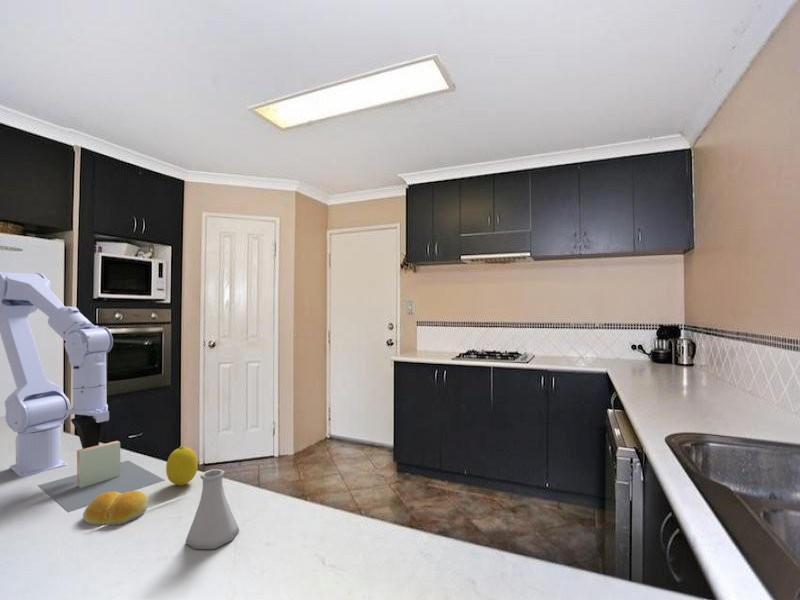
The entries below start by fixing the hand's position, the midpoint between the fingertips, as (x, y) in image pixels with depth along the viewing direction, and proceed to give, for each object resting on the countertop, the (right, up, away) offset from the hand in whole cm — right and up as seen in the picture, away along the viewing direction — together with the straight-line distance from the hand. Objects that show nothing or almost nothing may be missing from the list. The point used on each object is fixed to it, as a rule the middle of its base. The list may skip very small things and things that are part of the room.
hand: (90, 450), depth 89 cm
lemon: (+22, -6, -5) cm, 23 cm away
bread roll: (+16, -6, -16) cm, 23 cm away
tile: (+4, -5, -3) cm, 7 cm away
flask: (+36, -5, -23) cm, 43 cm away
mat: (+5, -5, -4) cm, 8 cm away
